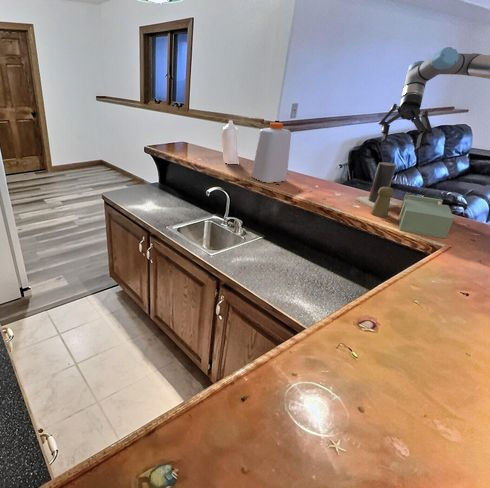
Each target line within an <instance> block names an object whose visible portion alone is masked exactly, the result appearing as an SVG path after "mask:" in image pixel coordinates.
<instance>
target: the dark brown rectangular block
mask: <svg viewBox="0 0 490 488" xmlns="http://www.w3.org/2000/svg"><path fill="white" fill-rule="evenodd" d="M396 169H397V164H396V163H392V162H388V161H387V162H384V161H381V162H380V161H379V162H378V164H377V167H376V171H375V174H374V178H373V182H372V185H371V188H370V191H369V196H368V197H369V199H368V200H369V201H371V202H374V203H375V202H376V200H377V198H378V196H379V194H378V190H379V189H380V188H381V187H389V188H391V184H392V181H393V178H394V175H395V171H396Z"/></svg>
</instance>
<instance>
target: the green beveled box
mask: <svg viewBox="0 0 490 488" xmlns="http://www.w3.org/2000/svg"><path fill="white" fill-rule="evenodd" d="M403 200H404V199H403ZM402 203H403V202H402ZM401 206H402V205H401ZM400 209H401V208H400ZM454 217H455V216H454V215H453V212H452V211H451V208H450V205H448V204H443V203H442V204H435V203H429V202H422V201H416V200H409V199H405V200H404V203H403V206H402V209H401V210H400V213H399V216H398V229H399V230H398V231H401V232H406V233H412V234H417V235H423V236H427V237H432V238H433V237H434V238H439V239H444V240H446V239H447V236H448V234H449V231H450V230H451V227H452V224H453V222H454V219H455V218H454Z"/></svg>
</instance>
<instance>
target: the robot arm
mask: <svg viewBox="0 0 490 488" xmlns="http://www.w3.org/2000/svg"><path fill="white" fill-rule="evenodd" d="M440 75H451V76H452V75H459V76H461V75H462V76H467V77H474V78H482V79H488V80H490V54H482V53H460V52H458V50H457V49H456V48H453V47H452V46H447V47H444V48H442V49H440V50H439V51H437V52H435V53H433V54H432V55H431V56H430V57H428V58H427V59H426V60H418V61H415V62H412V63H411V64H410V65H409V66H408V69H407V72H406V75H405V80H404V84H403V89H402V93H401V98H400V102H399V105H398V104H397V103H394V104H392V106H390V107H389V111H388V112H387V113H385V115H384V116H383V117H382V118H381V119H380V120H379V122H378V125H379V126H380V125H381V134H382V137H381V143H384V142H386V141H387V140H388V136H389V132H390V127H391V125H390V124H392V123H394V122H395V121H396V120H398V119H399V118H401V120H407V121H410V122H411V123H413V125H414V126H415V128H416V130H417V131H418V133H419V134H418V136H417V141H416V144H415V149H414V150H415V151H418V150H420V149H421V148H422V146H423V143H424V142H425V141H426V138H427V136H429V135H431V134H432V133H433V127H432V125H431V122H430V119H429V115H428V114H429V111H428V110H425V111H421V107H422V102H423V98H424V93H425V90H426V85H427V82H429V81H431V80H432V79H434V78H435V77H437V76H440ZM395 111H397V114H396V115H394V116H392V117H391V118H389V117H390V116H391V115H392V114H393V113H394V112H395ZM388 118H389V119H388Z"/></svg>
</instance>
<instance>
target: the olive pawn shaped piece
mask: <svg viewBox="0 0 490 488" xmlns="http://www.w3.org/2000/svg"><path fill="white" fill-rule="evenodd" d="M378 194H379V196H378V198H377V200H376V202H375V204H374V206H373V208H372V209H371V211H370V214H371V215H372V216H375V217H379V218H387V217H389V211H390V208H389V205H390V201H391V199H392V198H391V197H392V196H393V195H394V194H395V190H394V189H393V188H392V187H390V188H389V187H381V188H380V189H379V190H378Z"/></svg>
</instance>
